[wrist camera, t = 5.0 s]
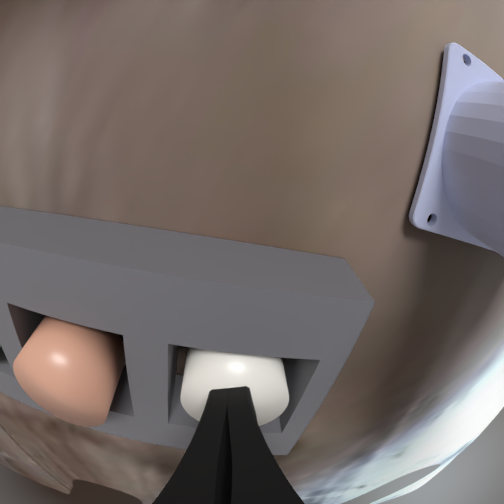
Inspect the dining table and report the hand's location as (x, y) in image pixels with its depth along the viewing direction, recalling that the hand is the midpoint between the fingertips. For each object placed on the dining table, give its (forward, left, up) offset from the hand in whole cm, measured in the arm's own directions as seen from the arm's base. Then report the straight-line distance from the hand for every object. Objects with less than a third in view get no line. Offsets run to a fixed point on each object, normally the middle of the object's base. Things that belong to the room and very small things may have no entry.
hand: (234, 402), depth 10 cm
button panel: (+6, 0, -3) cm, 7 cm away
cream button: (0, 0, -3) cm, 3 cm away
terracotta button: (+7, 0, -2) cm, 7 cm away
